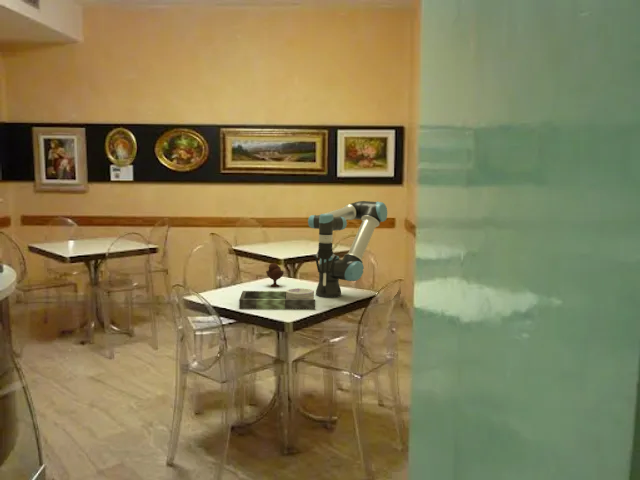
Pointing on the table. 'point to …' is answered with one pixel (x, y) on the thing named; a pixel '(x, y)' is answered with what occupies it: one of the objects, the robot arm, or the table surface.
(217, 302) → the table surface
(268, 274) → the ice cream bowl
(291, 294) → the paper bowls
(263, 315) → the table surface
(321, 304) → the table surface
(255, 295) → the shallow tray
